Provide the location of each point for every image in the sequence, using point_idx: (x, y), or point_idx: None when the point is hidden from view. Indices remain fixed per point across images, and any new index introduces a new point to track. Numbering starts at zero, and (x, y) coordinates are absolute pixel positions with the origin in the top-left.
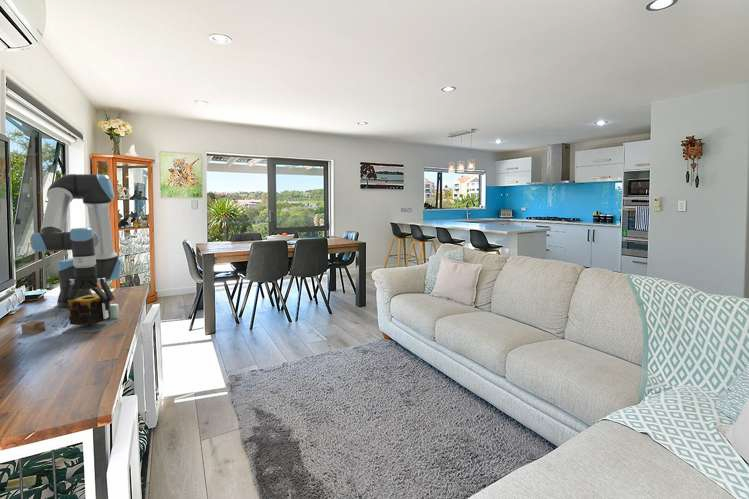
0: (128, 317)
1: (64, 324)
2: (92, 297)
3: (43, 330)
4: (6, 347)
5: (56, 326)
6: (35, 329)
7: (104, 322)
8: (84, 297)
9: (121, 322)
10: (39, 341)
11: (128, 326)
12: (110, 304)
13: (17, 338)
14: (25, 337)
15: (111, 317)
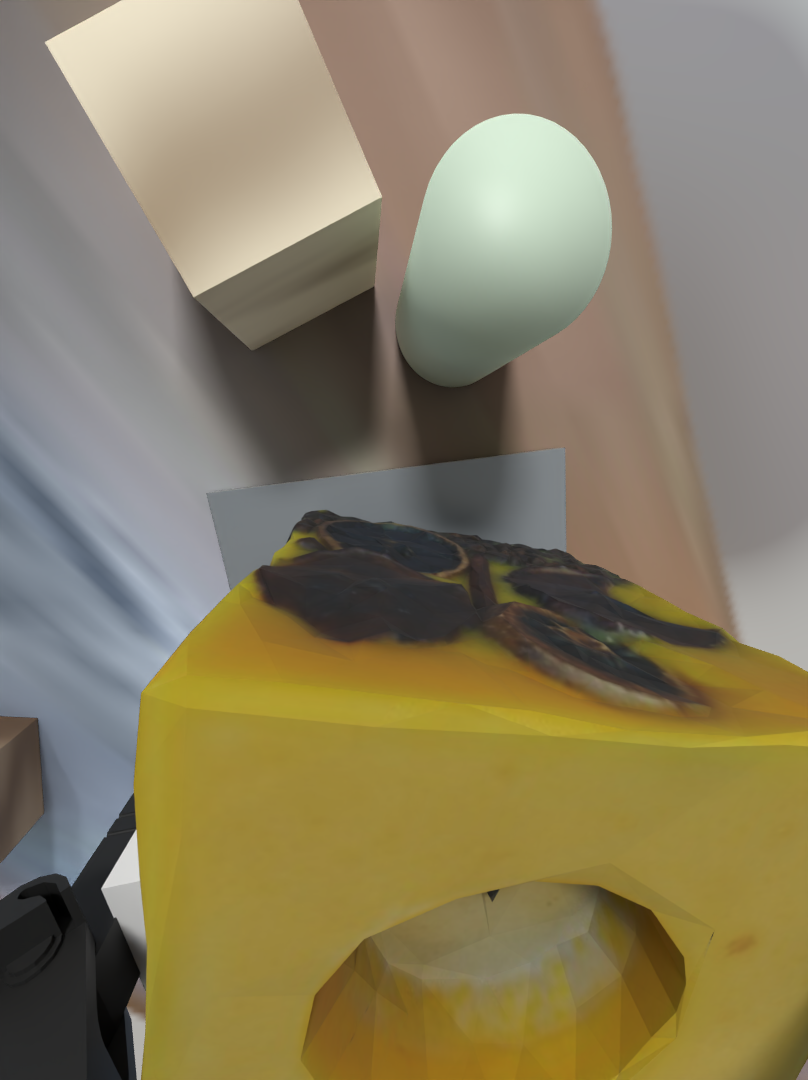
0: (606, 305)
1: (48, 541)
2: (524, 860)
3: (34, 740)
4: (130, 1012)
5: (24, 606)
6: (7, 834)
7: (481, 538)
8: (318, 980)
9: (611, 493)
10: None
11: (714, 608)
12: (457, 175)
13: (2, 890)
14: (48, 868)
15: (472, 381)
